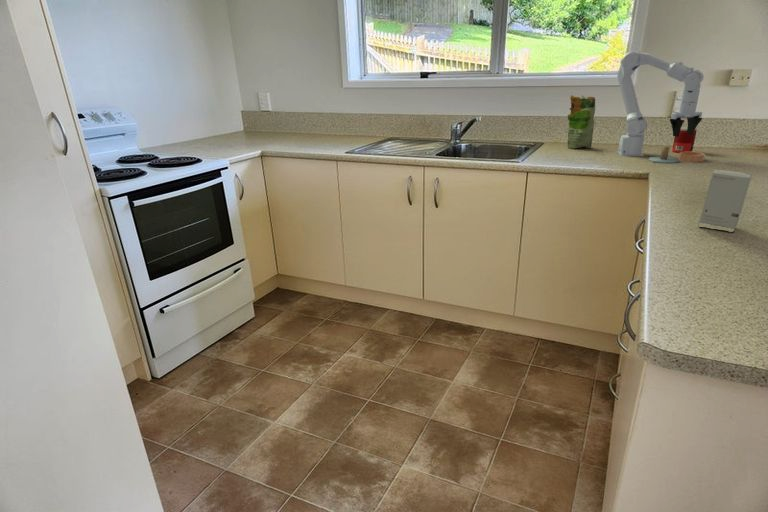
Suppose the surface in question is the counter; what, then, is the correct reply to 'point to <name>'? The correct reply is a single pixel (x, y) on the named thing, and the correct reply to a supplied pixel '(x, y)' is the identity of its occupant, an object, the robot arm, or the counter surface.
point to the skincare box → (725, 198)
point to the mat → (657, 162)
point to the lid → (664, 157)
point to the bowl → (691, 156)
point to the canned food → (684, 141)
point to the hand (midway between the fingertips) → (682, 135)
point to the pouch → (581, 122)
